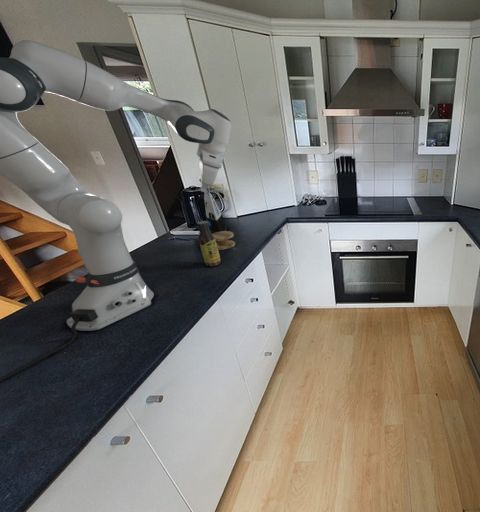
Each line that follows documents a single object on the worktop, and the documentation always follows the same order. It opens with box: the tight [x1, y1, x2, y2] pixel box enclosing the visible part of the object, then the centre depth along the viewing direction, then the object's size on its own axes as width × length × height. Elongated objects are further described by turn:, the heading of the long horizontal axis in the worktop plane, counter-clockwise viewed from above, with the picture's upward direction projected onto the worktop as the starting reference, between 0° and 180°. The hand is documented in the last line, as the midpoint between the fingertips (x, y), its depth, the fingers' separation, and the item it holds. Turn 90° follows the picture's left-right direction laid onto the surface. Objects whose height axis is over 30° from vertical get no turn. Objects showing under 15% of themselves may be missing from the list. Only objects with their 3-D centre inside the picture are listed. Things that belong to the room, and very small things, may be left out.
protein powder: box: [203, 187, 228, 234], centre depth 156 cm, size 10×24×30 cm, turn 36°
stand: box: [212, 230, 236, 251], centre depth 141 cm, size 11×11×6 cm
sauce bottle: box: [196, 220, 222, 267], centre depth 120 cm, size 7×6×20 cm
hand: (202, 186), depth 111 cm, fingers open, 8 cm apart
